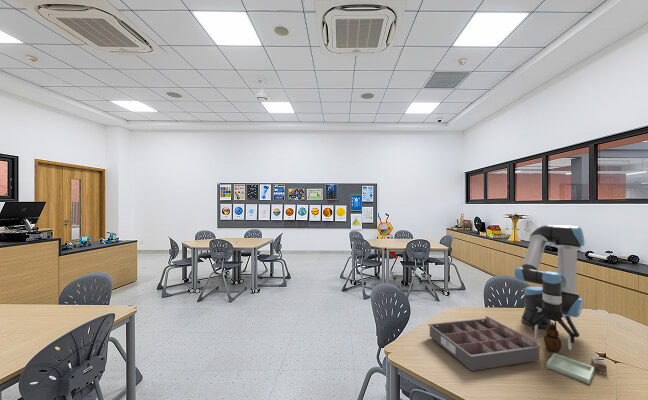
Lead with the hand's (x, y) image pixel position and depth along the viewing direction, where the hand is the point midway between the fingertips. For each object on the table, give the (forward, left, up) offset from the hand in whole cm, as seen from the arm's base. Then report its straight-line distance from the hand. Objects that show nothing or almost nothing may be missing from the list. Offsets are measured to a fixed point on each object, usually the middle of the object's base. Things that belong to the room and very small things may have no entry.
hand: (552, 343), depth 133 cm
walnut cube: (+17, -4, -4) cm, 18 cm away
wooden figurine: (0, 0, -4) cm, 4 cm away
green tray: (+9, -14, -4) cm, 17 cm away
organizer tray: (-23, -30, -4) cm, 38 cm away
